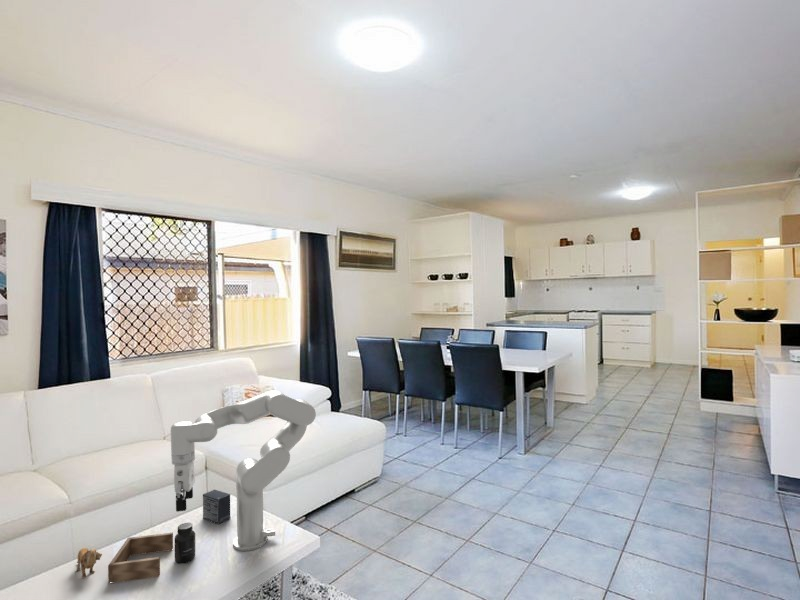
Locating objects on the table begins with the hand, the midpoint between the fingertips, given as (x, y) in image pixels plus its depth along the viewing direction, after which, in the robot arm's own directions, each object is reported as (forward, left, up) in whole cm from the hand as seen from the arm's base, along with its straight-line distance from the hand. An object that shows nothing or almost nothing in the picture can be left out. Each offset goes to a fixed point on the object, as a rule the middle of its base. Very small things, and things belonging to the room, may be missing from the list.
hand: (184, 504), depth 159 cm
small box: (-6, -29, -20) cm, 36 cm away
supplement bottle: (0, 0, -20) cm, 20 cm away
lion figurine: (+32, -1, -20) cm, 37 cm away
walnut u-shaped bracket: (+13, 0, -20) cm, 24 cm away
